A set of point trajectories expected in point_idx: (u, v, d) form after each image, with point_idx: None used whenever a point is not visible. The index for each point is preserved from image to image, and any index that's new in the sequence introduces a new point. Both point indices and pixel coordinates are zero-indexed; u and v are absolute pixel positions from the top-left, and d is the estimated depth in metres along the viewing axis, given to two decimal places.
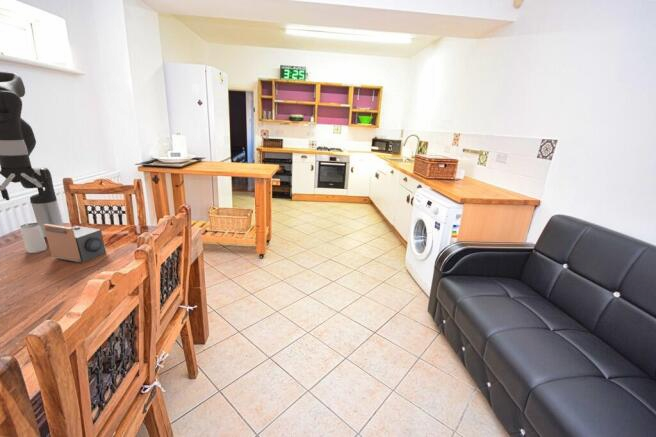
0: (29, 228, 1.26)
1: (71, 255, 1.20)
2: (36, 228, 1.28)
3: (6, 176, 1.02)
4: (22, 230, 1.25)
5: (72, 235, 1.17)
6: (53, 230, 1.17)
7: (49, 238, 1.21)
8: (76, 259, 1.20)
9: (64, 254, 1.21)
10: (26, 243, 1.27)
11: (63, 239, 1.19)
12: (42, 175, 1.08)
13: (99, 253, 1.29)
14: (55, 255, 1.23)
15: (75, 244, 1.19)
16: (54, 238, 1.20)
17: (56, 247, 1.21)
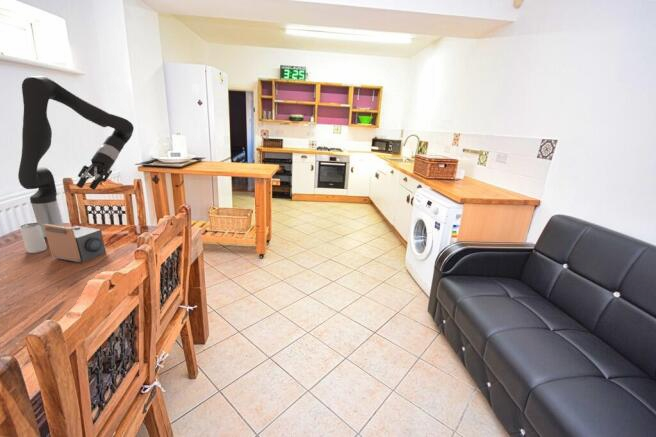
0: (29, 228, 1.26)
1: (71, 255, 1.20)
2: (36, 228, 1.28)
3: None
4: (22, 230, 1.25)
5: (72, 235, 1.17)
6: (53, 230, 1.17)
7: (49, 238, 1.21)
8: (76, 259, 1.20)
9: (64, 254, 1.21)
10: (26, 243, 1.27)
11: (63, 239, 1.19)
12: None
13: (99, 253, 1.29)
14: (55, 255, 1.23)
15: (75, 244, 1.19)
16: (54, 238, 1.20)
17: (56, 247, 1.21)
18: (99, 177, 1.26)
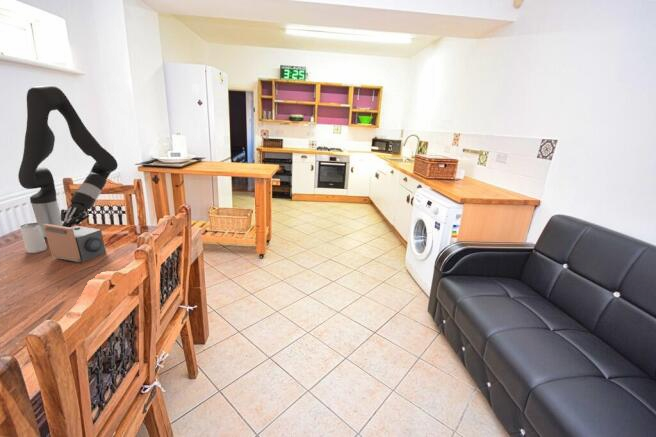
0: (29, 228, 1.26)
1: (71, 255, 1.20)
2: (36, 228, 1.28)
3: None
4: (22, 230, 1.25)
5: (72, 235, 1.17)
6: (53, 230, 1.17)
7: (49, 238, 1.21)
8: (76, 259, 1.20)
9: (64, 254, 1.21)
10: (26, 243, 1.27)
11: (63, 239, 1.19)
12: None
13: (99, 253, 1.29)
14: (55, 255, 1.23)
15: (75, 244, 1.19)
16: (54, 238, 1.20)
17: (56, 247, 1.21)
18: (71, 220, 1.20)
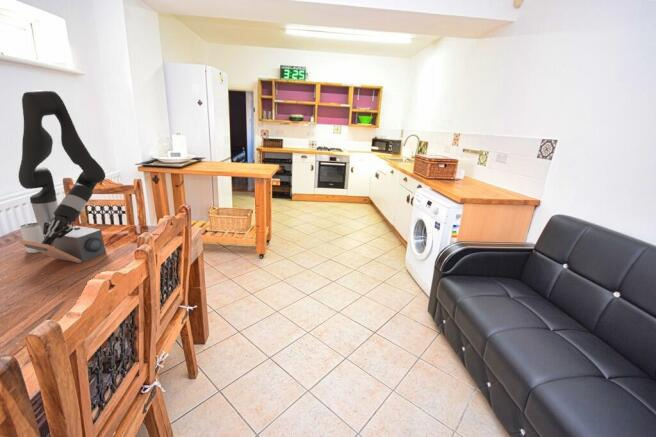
0: (29, 228, 1.26)
1: (69, 259, 1.20)
2: (36, 228, 1.28)
3: None
4: (22, 230, 1.25)
5: (54, 250, 1.12)
6: (33, 248, 1.12)
7: (36, 249, 1.17)
8: (76, 261, 1.21)
9: (62, 258, 1.21)
10: None
11: (50, 251, 1.15)
12: None
13: (99, 253, 1.29)
14: (55, 257, 1.23)
15: (64, 253, 1.15)
16: (41, 250, 1.16)
17: (49, 254, 1.19)
18: (54, 234, 1.15)
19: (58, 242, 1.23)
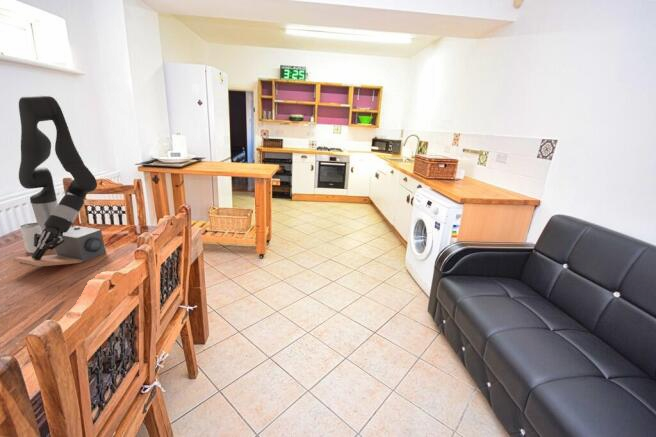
0: (29, 228, 1.26)
1: None
2: (36, 228, 1.28)
3: None
4: (22, 230, 1.25)
5: (49, 264, 1.11)
6: (29, 264, 1.11)
7: None
8: (77, 262, 1.21)
9: None
10: (26, 243, 1.27)
11: None
12: None
13: (99, 253, 1.29)
14: None
15: (61, 262, 1.15)
16: None
17: None
18: (44, 246, 1.12)
19: None
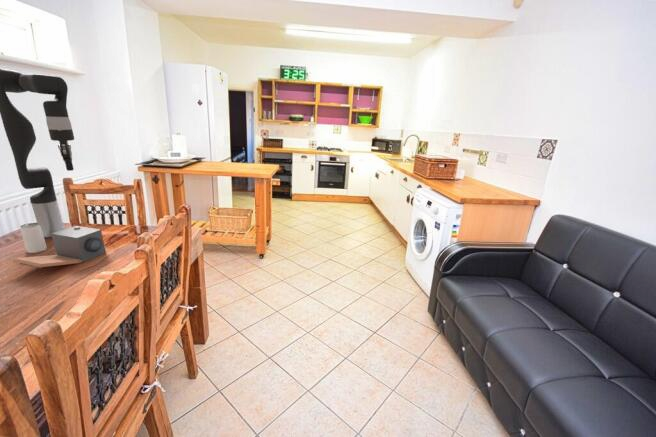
0: (29, 228, 1.26)
1: None
2: (36, 228, 1.28)
3: (68, 150, 1.24)
4: (22, 230, 1.25)
5: (49, 264, 1.11)
6: (29, 265, 1.11)
7: None
8: (77, 262, 1.21)
9: None
10: (26, 243, 1.27)
11: None
12: None
13: (99, 253, 1.29)
14: None
15: (61, 263, 1.15)
16: None
17: None
18: (63, 159, 1.24)
19: (58, 242, 1.23)
